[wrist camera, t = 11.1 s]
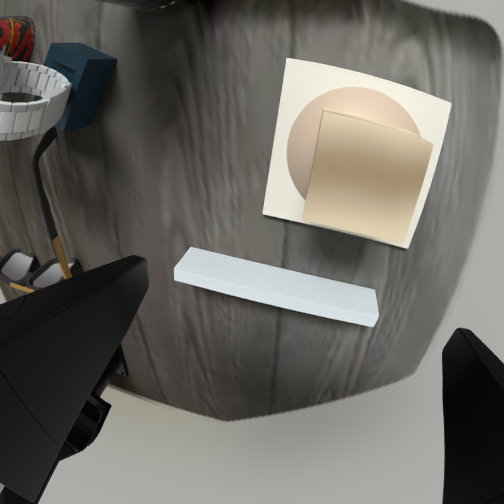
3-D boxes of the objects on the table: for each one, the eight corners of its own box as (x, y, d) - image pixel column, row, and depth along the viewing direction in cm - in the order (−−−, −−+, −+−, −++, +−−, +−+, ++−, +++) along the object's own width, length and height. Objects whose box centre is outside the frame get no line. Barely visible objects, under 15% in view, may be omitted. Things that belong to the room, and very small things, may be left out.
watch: (65, 37, 16) (-51, 47, 7) (134, 67, 17) (-1, 80, 8) (45, 97, 19) (-63, 130, 10) (105, 135, 20) (-15, 186, 11)
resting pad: (406, 245, 19) (408, 249, 19) (263, 211, 20) (262, 214, 20) (449, 103, 14) (452, 103, 13) (287, 58, 15) (286, 57, 15)
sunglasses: (59, 124, 21) (15, 139, 16) (93, 276, 28) (64, 306, 24) (-12, 146, 23) (-44, 160, 19) (19, 261, 31) (-6, 282, 27)
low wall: (370, 299, 22) (373, 327, 19) (190, 258, 24) (174, 280, 21) (374, 289, 21) (378, 316, 19) (190, 246, 23) (174, 268, 21)
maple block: (385, 206, 18) (401, 244, 14) (307, 187, 18) (301, 220, 14) (406, 129, 15) (433, 144, 11) (323, 107, 16) (322, 113, 12)
